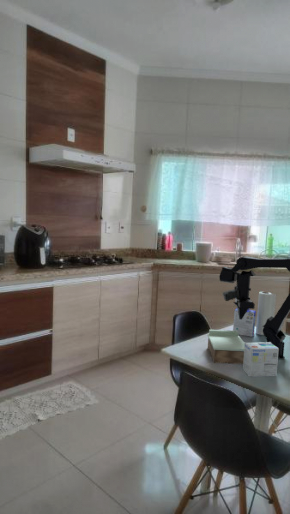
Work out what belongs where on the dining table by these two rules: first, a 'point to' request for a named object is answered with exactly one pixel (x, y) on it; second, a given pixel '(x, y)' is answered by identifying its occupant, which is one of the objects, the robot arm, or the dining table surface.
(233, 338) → the lid
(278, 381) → the dining table surface
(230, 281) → the robot arm
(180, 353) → the dining table surface
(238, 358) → the box
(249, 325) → the ink cartridge box
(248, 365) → the light bulb box
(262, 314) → the paper towel roll
